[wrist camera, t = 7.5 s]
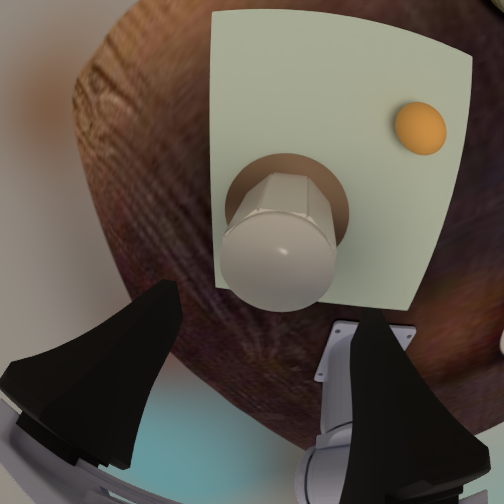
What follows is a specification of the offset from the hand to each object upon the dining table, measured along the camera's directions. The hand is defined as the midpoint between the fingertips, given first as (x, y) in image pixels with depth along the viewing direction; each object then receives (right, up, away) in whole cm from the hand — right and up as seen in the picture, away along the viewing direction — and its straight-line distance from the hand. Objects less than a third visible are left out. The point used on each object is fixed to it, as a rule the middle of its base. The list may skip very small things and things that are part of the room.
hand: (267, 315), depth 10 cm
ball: (+8, +9, +1) cm, 12 cm away
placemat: (+5, +7, +6) cm, 10 cm away
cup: (+2, +5, +7) cm, 9 cm away
